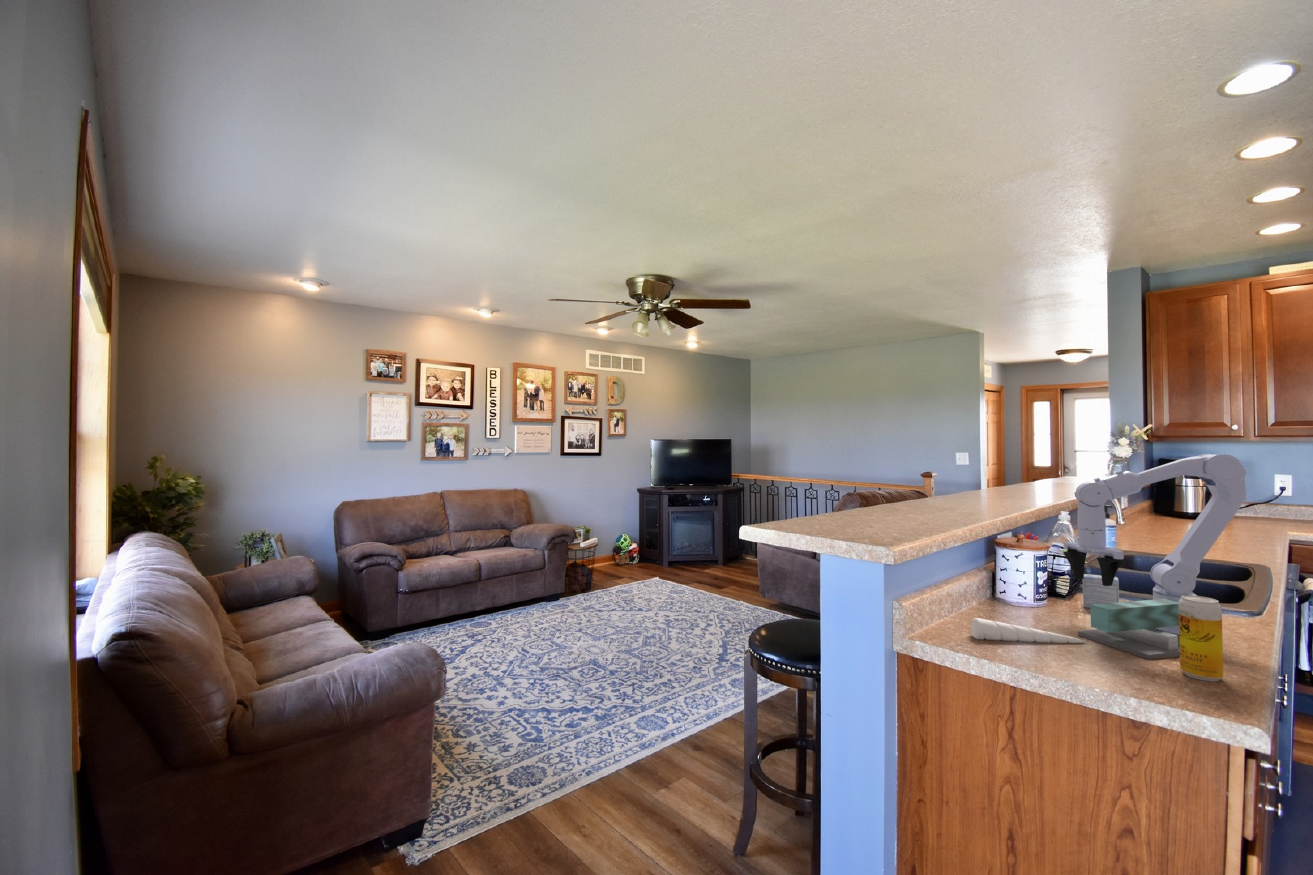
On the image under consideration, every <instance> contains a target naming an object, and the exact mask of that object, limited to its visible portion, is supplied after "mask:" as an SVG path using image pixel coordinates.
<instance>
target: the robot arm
mask: <svg viewBox="0 0 1313 875" xmlns="http://www.w3.org/2000/svg"><path fill="white" fill-rule="evenodd" d="M1114 473H1115V474H1113V475H1112V474H1111V475H1109V476H1106V477H1103V478H1099V477H1096V478H1094V479H1093V480H1094V482H1089V481H1088V482H1083V483H1081V484H1079V485H1078V486H1077V487H1076V489H1075V492H1074V497H1075V499H1076V500H1077V501H1078V502H1077V542H1074V541H1063V549H1064V550H1066V551H1063V556H1064V557H1065V558H1066V560H1067V562H1068V564H1069V566H1070V568H1071V571H1072V575H1073V577H1074V580H1083V578H1084V574H1085V562H1086V558H1087V555H1088V554H1091V555H1096V556H1102V557H1096V560H1097V562H1098V564H1099V569H1100V574H1101V576H1102V584H1103V586H1112V583H1113V580H1114V577H1116V574H1117V572H1118V570H1119V568H1120V567H1121V565H1122V564H1123V563H1124V559H1125V557H1124V551H1123V550H1118V549H1116V548H1111V547H1108V546H1107V533H1106V532H1107V529H1106V528H1107V527H1106V511H1105V504H1106V502H1107V501H1113V500H1117V499H1121V498H1123V497H1126V496H1130V495H1134V494H1138V493H1140V492H1141V490H1142V488H1143V487H1144V486H1148V485H1150V484H1154V483H1158V482H1161V481H1166V480H1169V479H1173V478H1177V477H1181V476H1189V477H1198V478H1199V479H1200V480H1201V481H1202V482H1203V483H1205V485H1206V486H1207V488H1208V490H1209V492H1210V494H1211V498H1210V499H1209V500H1208V502H1207V503H1206V505H1205V506H1204V507H1203V509H1202V510H1201V512H1200V513H1199V515H1198V516H1197V517H1196V519H1195V520H1194V521H1193V524H1192V525H1191V526H1190V527H1189V529H1188V530H1187V531H1186V533H1185V534H1184V536H1183V538H1181V540H1180V542H1179V543H1178V545H1176V547H1175V549H1174V550H1173V551H1171V552H1169V553H1168V554H1167V555H1165V557H1164V559H1162V560H1161V561H1160V562H1158V563H1156V564H1154V565H1153V566H1152V567H1151V569H1150V573H1149V575H1150V578H1151V580H1152V581H1153V582H1154V584H1155V585H1154V587H1153V588H1152V596H1153V597H1152V600H1156V599H1171V600H1175V601H1179V600H1180V599H1181V596H1185V595H1190V596H1198V595H1197V594H1196V593H1194V590H1195V588H1196V584H1197V582H1196V580H1197V577H1198V575H1199V574H1200V570H1201V569H1200V568H1201V567H1200V565H1201V562H1202V561H1203V560H1204V558H1205V557H1206V555H1208V553H1209V551H1210V550H1211V548H1212V547H1213V545H1214V544H1215V543H1216V542H1217V540H1218V539H1219V537H1220V536H1221V534H1223V532H1224V530H1225V529H1226V527H1227V526H1228V525H1229V523H1230V522H1231V521H1232V519H1233V518H1234V517H1235V515H1236V514H1237V512H1238V511H1239V510H1240V509H1241V507H1242V505H1243V504H1244V503H1245V501H1246V499H1247V494H1246V493H1247V491H1246V481H1245V480H1246V479H1245V478H1246V475H1247V470H1246V469H1245V468H1244V466H1243V464H1242V462H1241V461H1240V460H1239V459H1238V458H1237V457H1235V456H1233V455H1231V454H1226V453H1219V454H1214V453H1203V454H1199V455H1198V456H1196V455H1195V456H1189V457H1188V456H1187V457H1185V458H1180V459H1177V460H1174V461H1172V462H1168V463H1165V464H1162V465H1159V466H1156V467H1153V468H1150V469H1147V470H1143V471H1141V472H1138V473H1135V472H1133V471H1130V470H1125V471H1123V470H1121V469H1120V470H1117V471H1115V472H1114ZM1155 629H1157V630H1160V631H1164V632H1167V633H1171V634H1174V635H1177V636H1179V626H1173V627H1162V628H1155Z"/></svg>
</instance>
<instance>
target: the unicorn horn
mask: <svg viewBox="0 0 1313 875" xmlns="http://www.w3.org/2000/svg"><path fill="white" fill-rule="evenodd" d="M971 635H972V637H973V638H975V639H976V640H982V641H983V640H984V639H985V640H987V641H1001V640H1002V641H1007V642H1018V641H1019V642H1025V643H1027V642H1028V643H1034V642H1036V643H1049V644H1050V643H1053V644H1068V643H1069V644H1083V643H1087V641H1086V640H1084V639H1080V638H1077V637H1073V636H1070V635H1069V636H1068V635H1065V634H1060V633H1055V632H1051V631H1050V632H1049V631H1045V630H1042V629H1036V628H1031V627H1024V626H1021V625H1015V624H1009V623H1005V622H1000V621H996V620H990V619H984V618H982V617H981V618H980V617H974V618H973V619H972V621H971ZM1067 642H1068V643H1067Z"/></svg>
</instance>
